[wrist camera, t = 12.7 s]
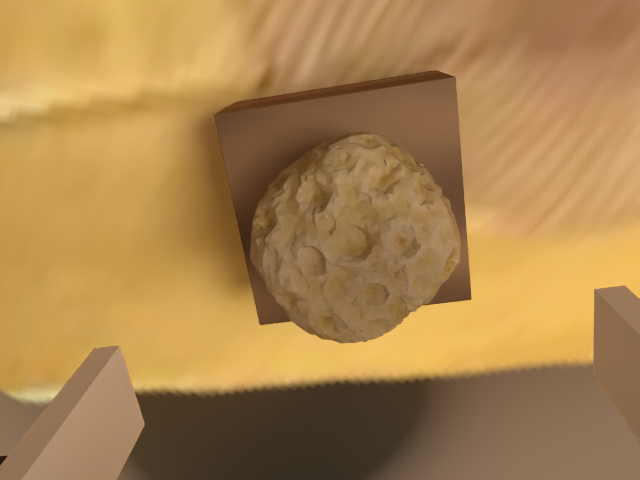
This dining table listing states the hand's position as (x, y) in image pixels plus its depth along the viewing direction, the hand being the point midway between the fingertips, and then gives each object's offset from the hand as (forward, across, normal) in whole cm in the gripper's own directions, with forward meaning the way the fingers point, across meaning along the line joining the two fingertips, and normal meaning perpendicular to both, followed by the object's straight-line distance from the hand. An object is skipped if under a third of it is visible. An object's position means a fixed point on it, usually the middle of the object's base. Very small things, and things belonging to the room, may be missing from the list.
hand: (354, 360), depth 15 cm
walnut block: (+21, 0, 0) cm, 21 cm away
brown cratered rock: (+15, 0, 0) cm, 15 cm away
